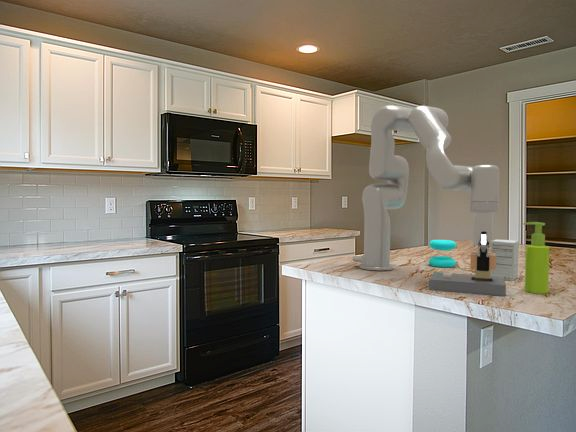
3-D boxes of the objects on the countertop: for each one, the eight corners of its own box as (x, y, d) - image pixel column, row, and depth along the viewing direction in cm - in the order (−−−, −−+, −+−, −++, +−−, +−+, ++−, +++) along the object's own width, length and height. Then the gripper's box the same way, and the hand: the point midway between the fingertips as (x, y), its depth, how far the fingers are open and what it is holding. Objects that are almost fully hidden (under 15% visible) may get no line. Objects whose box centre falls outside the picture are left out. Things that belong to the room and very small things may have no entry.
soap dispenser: (524, 288, 133) (527, 221, 132) (550, 291, 128) (553, 222, 127) (517, 290, 128) (520, 222, 128) (544, 294, 124) (547, 223, 123)
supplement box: (495, 275, 154) (496, 239, 154) (518, 277, 150) (519, 240, 149) (488, 278, 149) (490, 240, 148) (513, 280, 144) (514, 242, 143)
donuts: (424, 240, 174) (436, 238, 181) (424, 265, 174) (435, 263, 181) (449, 242, 166) (460, 240, 174) (448, 268, 167) (460, 266, 174)
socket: (429, 289, 129) (429, 276, 129) (433, 281, 142) (434, 269, 142) (505, 296, 121) (506, 282, 121) (503, 286, 134) (503, 274, 134)
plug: (470, 278, 128) (470, 254, 128) (470, 274, 134) (471, 252, 134) (495, 279, 125) (495, 255, 125) (494, 276, 131) (495, 253, 131)
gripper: (470, 207, 138) (469, 264, 139) (469, 208, 122) (468, 272, 123) (497, 207, 135) (495, 265, 136) (499, 208, 119) (498, 274, 120)
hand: (482, 268), depth 129 cm, fingers closed on plug, 6 cm apart
